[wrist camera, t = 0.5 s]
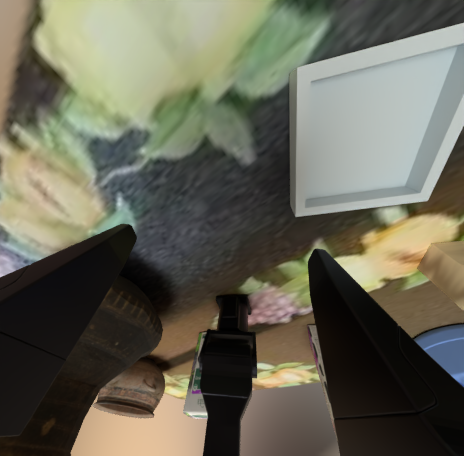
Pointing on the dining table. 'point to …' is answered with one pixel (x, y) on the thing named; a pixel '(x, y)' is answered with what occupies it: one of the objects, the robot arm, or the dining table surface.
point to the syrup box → (195, 387)
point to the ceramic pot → (89, 371)
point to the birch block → (446, 269)
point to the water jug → (446, 349)
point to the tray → (375, 123)
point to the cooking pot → (133, 391)
